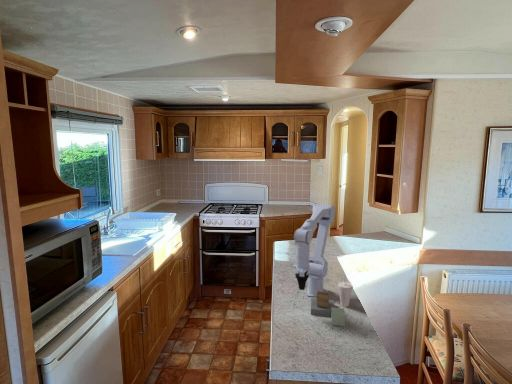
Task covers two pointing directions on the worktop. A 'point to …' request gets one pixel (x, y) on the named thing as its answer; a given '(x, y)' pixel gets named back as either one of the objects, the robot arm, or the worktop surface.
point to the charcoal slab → (321, 308)
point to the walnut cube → (323, 299)
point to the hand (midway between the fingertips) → (302, 285)
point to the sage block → (338, 316)
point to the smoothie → (345, 292)
